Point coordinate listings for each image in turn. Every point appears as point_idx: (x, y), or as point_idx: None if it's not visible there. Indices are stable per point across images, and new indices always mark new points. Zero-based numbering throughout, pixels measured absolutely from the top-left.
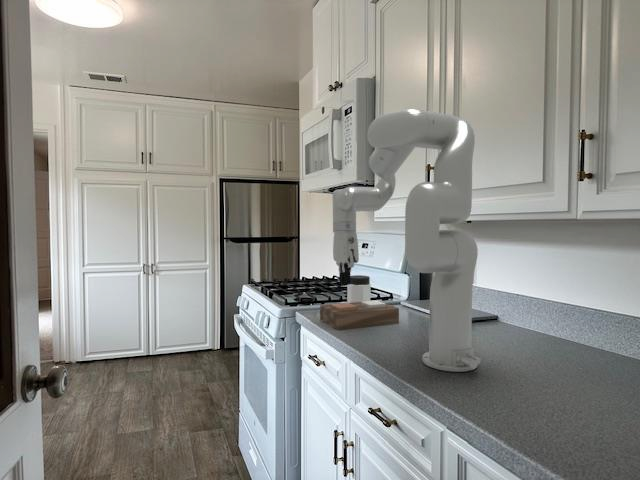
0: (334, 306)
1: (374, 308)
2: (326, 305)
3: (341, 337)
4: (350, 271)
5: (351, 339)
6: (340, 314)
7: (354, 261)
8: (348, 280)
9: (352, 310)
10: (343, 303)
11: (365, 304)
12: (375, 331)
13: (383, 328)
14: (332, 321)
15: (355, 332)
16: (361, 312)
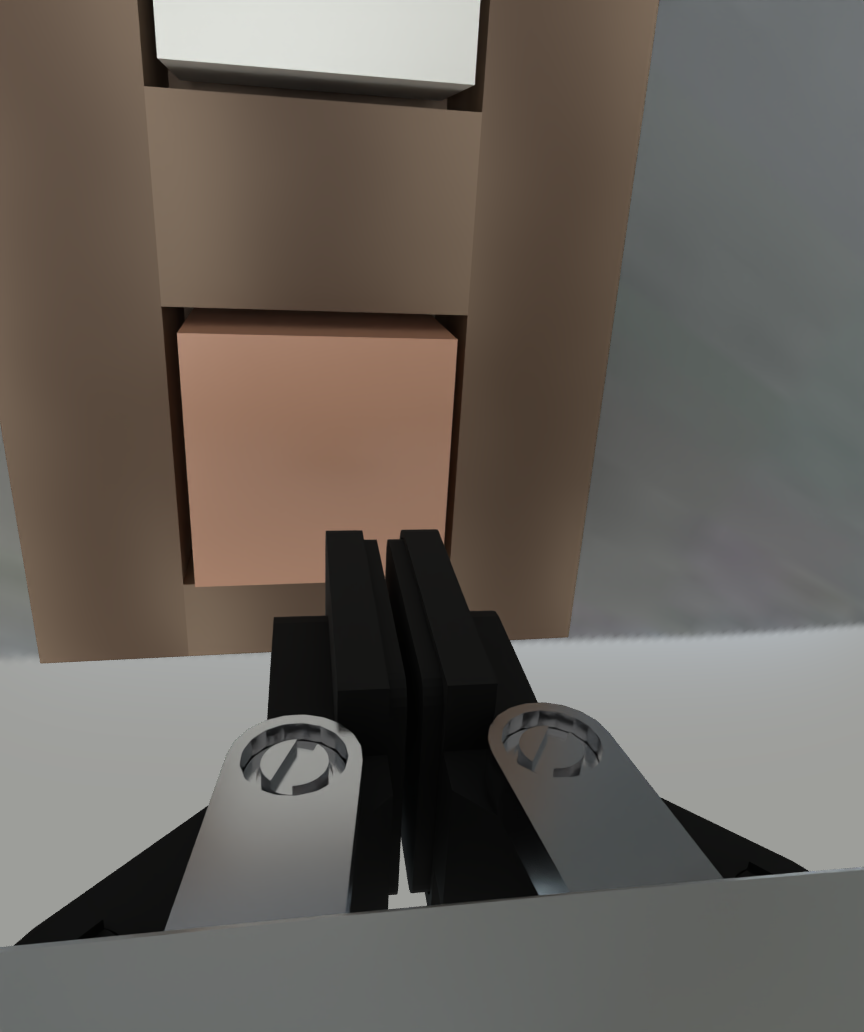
0: (284, 577)
1: (534, 48)
2: (81, 598)
3: (706, 609)
4: (593, 734)
5: (787, 564)
6: (570, 606)
7: (860, 907)
8: (496, 632)
9: (497, 420)
10: (198, 420)
11: (315, 73)
12: (728, 260)
13: (689, 106)
14: None
15: (654, 451)
16: (604, 346)
